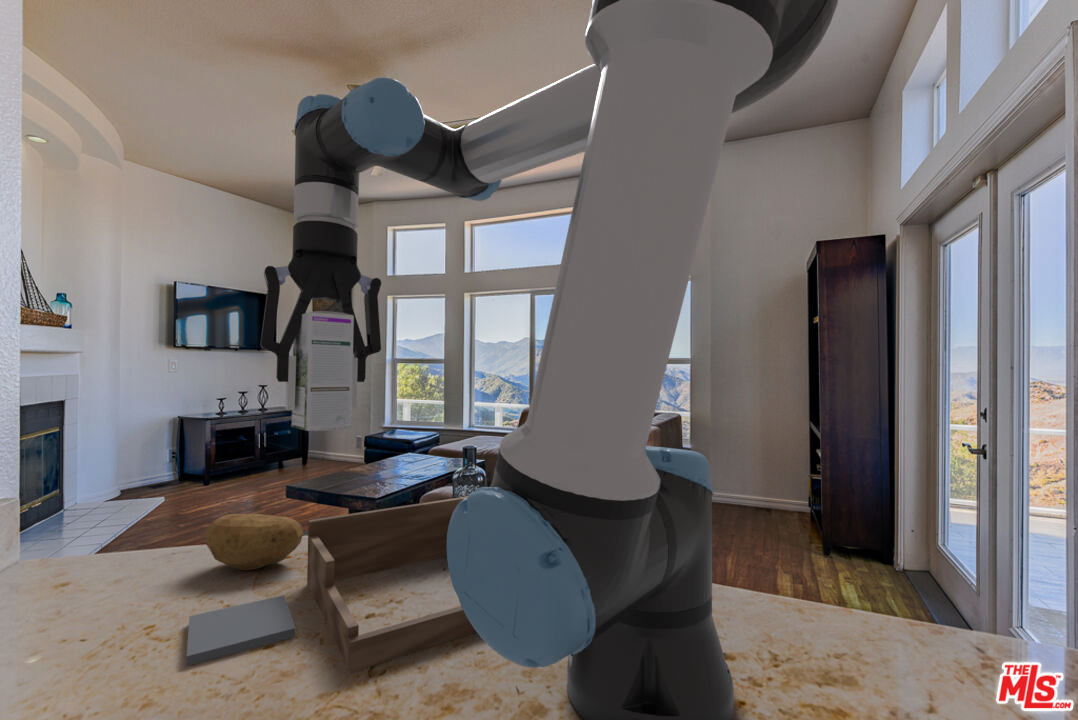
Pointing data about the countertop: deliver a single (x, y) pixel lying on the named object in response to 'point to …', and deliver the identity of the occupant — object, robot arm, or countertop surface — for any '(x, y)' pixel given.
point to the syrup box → (323, 372)
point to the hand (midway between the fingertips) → (321, 408)
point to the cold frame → (371, 548)
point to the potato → (252, 539)
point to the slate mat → (238, 629)
